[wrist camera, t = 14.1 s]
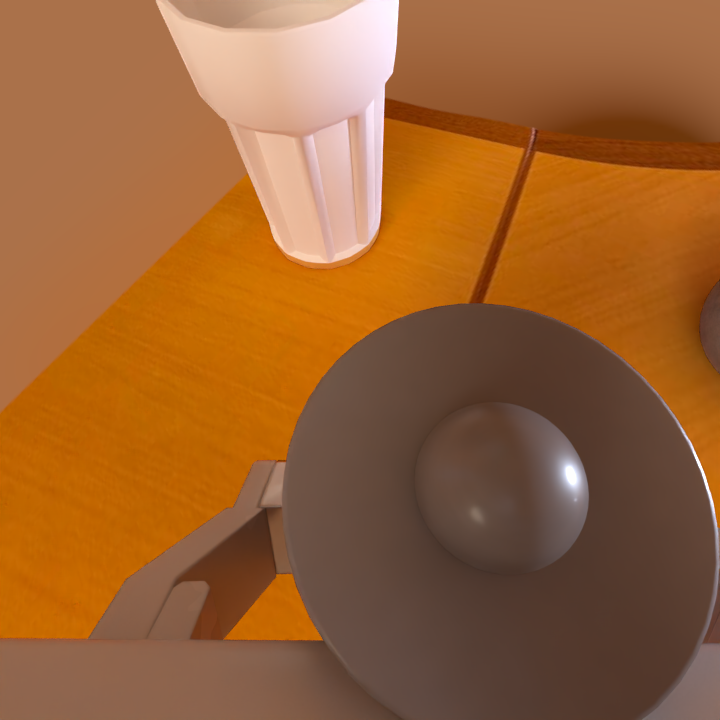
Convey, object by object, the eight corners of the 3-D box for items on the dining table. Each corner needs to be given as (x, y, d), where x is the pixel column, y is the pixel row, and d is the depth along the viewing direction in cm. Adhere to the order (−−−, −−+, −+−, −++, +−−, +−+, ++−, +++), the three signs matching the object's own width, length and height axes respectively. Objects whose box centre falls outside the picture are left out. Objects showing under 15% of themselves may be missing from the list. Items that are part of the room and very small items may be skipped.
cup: (371, 295, 31) (358, 51, 15) (238, 264, 33) (100, 16, 17) (409, 186, 35) (429, -100, 19) (287, 164, 37) (214, -115, 21)
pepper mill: (349, 594, 16) (161, 962, 2) (344, 457, 18) (226, 237, 4) (486, 587, 15) (1103, 935, 2) (465, 449, 18) (722, 198, 4)
